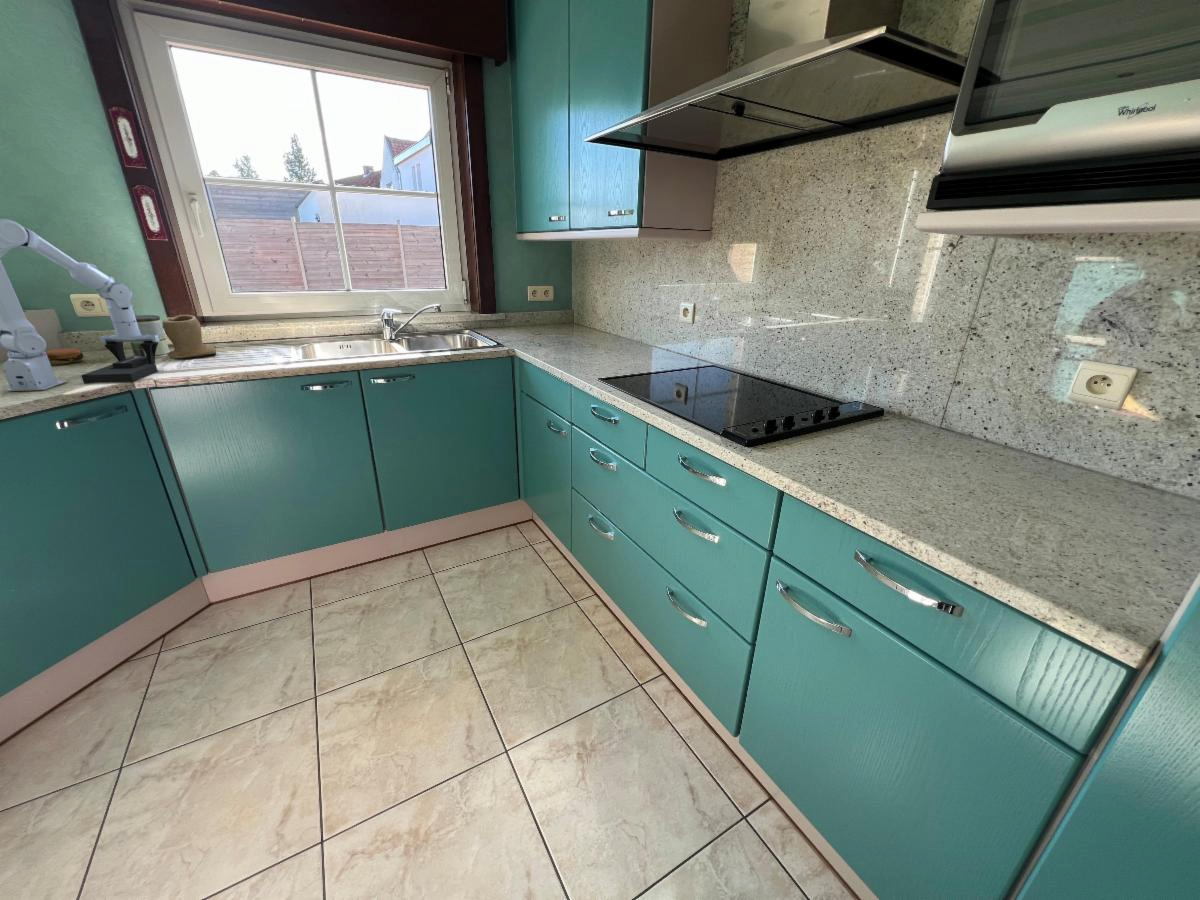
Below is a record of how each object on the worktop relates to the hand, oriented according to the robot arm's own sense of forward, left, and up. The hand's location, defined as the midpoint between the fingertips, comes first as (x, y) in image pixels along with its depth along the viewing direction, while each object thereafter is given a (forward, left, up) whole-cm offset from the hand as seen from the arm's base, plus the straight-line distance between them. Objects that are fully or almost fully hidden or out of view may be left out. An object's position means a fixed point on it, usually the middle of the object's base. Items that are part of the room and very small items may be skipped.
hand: (138, 364), depth 160 cm
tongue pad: (-3, 0, -2) cm, 4 cm away
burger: (+16, +29, -2) cm, 33 cm away
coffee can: (+25, +8, -2) cm, 27 cm away
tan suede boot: (+21, -7, -2) cm, 23 cm away
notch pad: (-10, 0, -2) cm, 10 cm away
